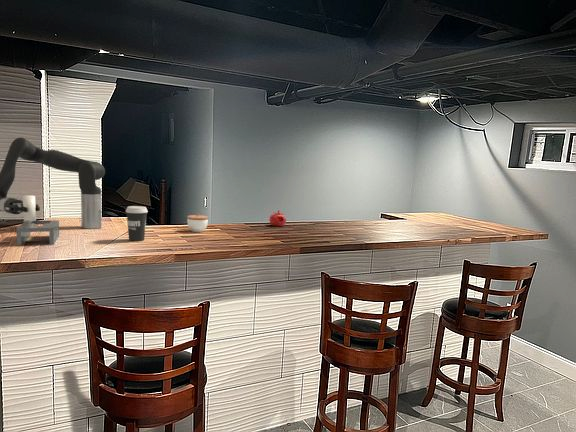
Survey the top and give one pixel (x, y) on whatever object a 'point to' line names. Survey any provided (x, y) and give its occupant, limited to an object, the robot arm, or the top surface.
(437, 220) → the top surface
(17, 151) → the robot arm
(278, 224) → the pomegranate
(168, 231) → the top surface
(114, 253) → the top surface
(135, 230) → the coffee cup
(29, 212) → the peg
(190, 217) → the lidded jar
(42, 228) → the keyhole plate
